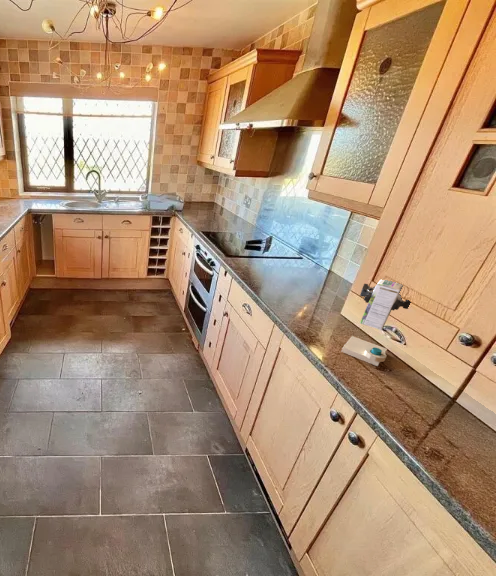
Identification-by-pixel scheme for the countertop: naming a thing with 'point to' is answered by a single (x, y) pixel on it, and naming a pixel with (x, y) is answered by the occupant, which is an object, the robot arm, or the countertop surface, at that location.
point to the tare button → (376, 351)
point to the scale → (364, 350)
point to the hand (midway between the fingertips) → (380, 303)
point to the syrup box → (381, 304)
